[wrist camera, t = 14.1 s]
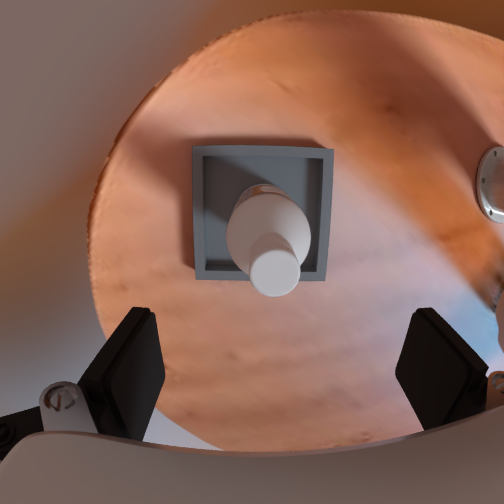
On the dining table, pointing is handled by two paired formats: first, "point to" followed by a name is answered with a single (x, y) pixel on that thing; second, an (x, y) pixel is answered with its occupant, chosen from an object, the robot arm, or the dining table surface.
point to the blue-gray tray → (245, 176)
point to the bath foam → (268, 238)
